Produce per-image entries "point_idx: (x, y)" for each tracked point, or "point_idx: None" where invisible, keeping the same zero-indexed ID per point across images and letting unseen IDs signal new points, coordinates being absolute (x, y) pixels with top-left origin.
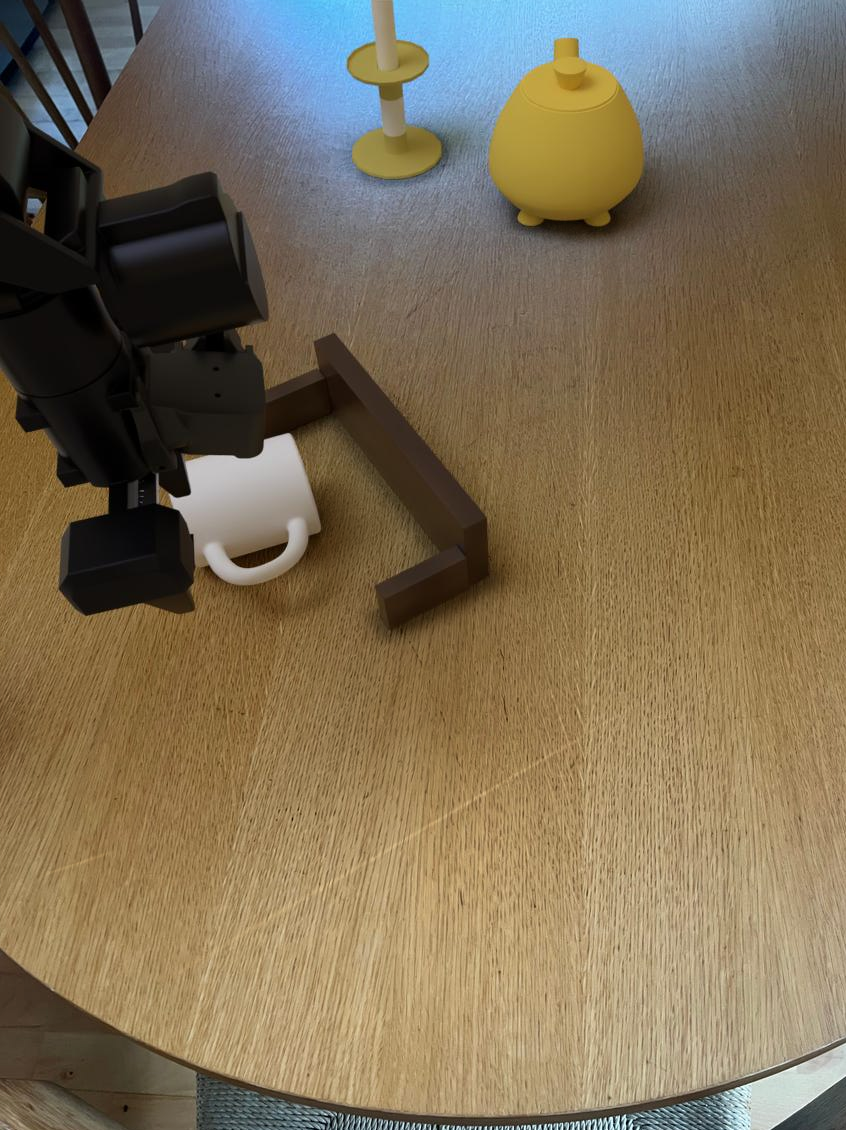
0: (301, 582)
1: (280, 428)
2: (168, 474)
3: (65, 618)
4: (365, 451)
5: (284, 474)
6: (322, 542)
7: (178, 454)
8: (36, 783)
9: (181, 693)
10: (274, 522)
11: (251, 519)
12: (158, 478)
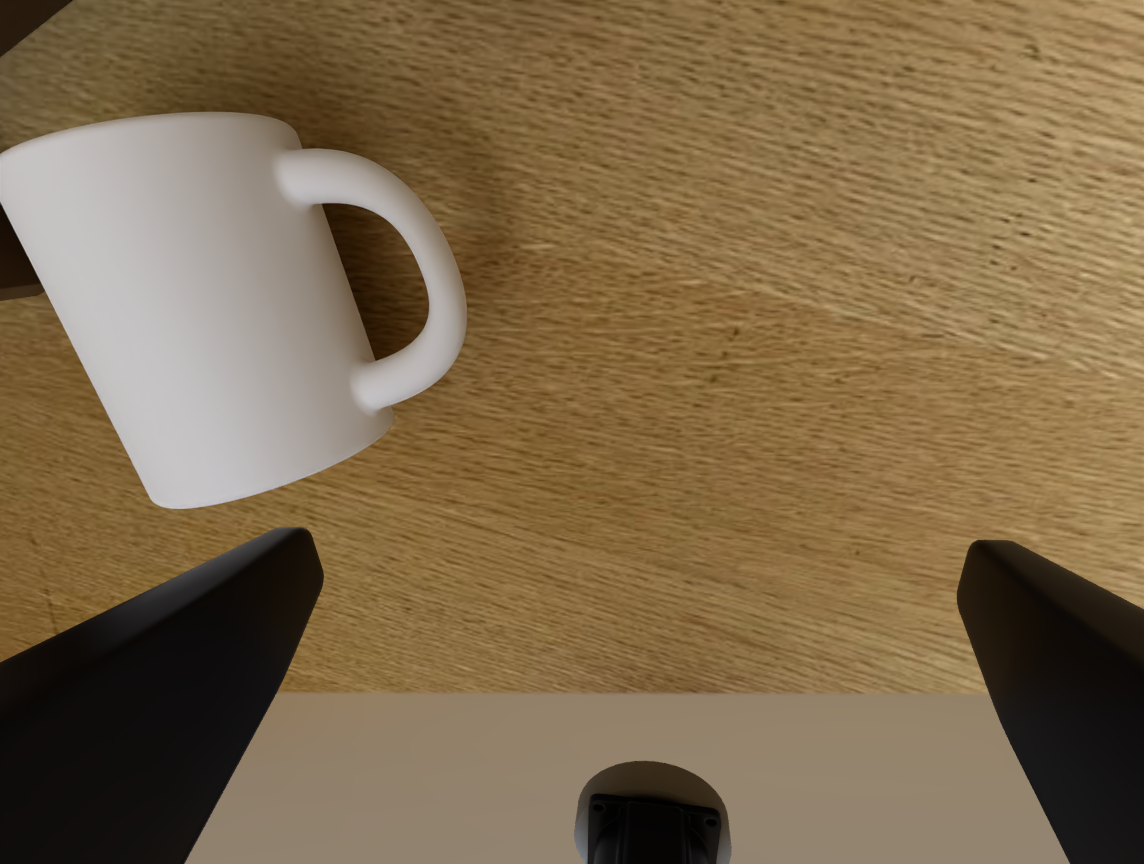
0: (423, 196)
1: (9, 231)
2: (226, 672)
3: (475, 621)
4: (39, 9)
5: (139, 187)
6: (315, 142)
7: (82, 694)
8: (788, 661)
9: (663, 445)
10: (294, 236)
11: (291, 295)
12: (251, 704)
